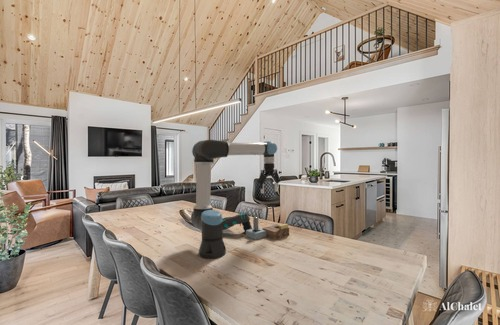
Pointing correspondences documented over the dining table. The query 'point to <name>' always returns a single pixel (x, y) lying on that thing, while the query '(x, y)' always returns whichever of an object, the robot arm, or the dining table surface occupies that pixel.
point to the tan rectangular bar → (283, 226)
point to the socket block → (276, 232)
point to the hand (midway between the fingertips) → (269, 192)
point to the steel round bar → (255, 224)
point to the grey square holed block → (256, 233)
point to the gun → (237, 221)
